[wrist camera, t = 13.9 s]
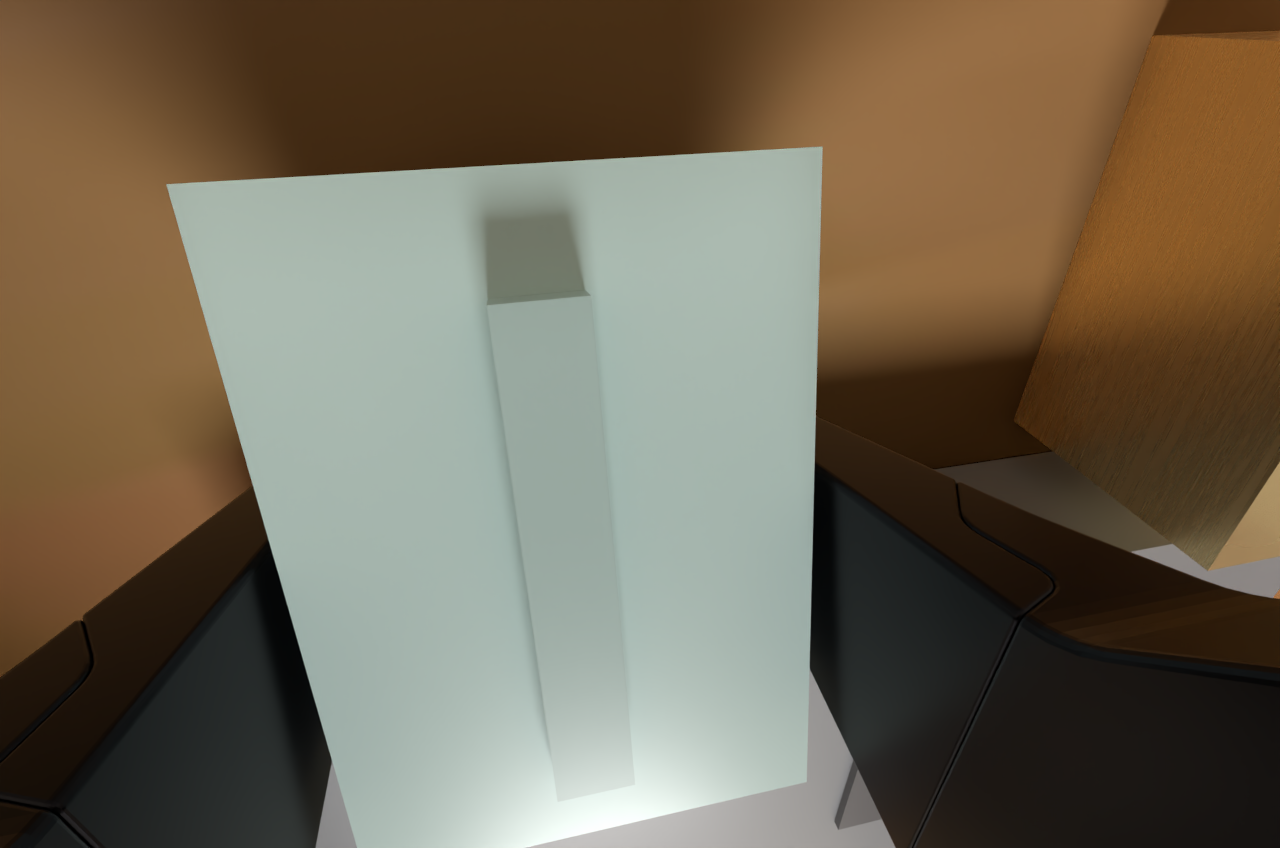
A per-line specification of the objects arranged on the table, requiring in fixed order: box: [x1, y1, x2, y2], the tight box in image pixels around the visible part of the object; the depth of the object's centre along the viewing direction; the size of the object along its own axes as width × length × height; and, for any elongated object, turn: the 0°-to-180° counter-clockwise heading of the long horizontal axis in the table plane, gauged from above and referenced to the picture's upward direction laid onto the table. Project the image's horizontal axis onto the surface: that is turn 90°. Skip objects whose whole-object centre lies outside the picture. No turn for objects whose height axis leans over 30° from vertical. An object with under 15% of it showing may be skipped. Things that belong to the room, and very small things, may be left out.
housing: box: [316, 452, 1280, 848], centre depth 15 cm, size 12×20×3 cm, turn 91°
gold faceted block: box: [1014, 31, 1280, 571], centre depth 10 cm, size 2×7×5 cm, turn 1°
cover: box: [166, 147, 822, 848], centre depth 7 cm, size 7×5×3 cm
